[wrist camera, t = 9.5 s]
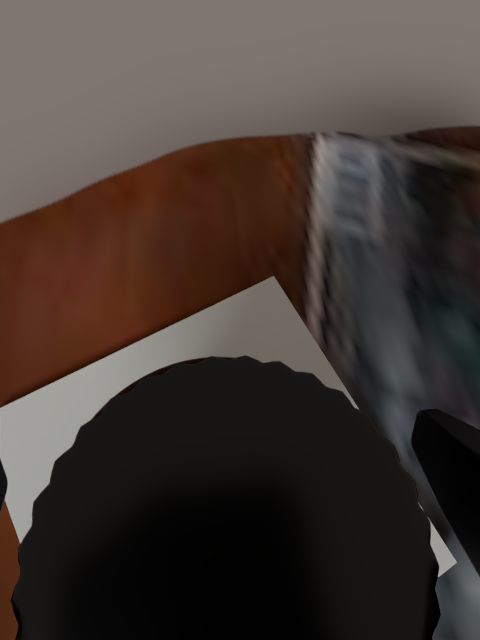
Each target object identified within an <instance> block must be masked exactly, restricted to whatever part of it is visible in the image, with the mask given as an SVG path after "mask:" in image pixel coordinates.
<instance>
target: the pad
mask: <svg viewBox="0 0 480 640" xmlns="http://www.w3.org/2000/svg"><path fill="white" fill-rule="evenodd" d="M245 355H247V356H249V357H252V358H254V359H256V360H258V361H260V362H262V363H266V362H271V361H281V362H282V363H284V364H285V365H287V366H288V367H290V368H291V369H292V370H294V371H297V372H308V373H313V374H314V375H315V376H316V377H317V378H318V379H319V380H320V381H321V382H322V383H323V384H324V385H325V386H326V387H329V388H333V389H337V390H340V391H342V392H344V394H345V395H346V396H347V398H348V399H349V400H350V402H351V403H352V405H353V406H354V408H357V409H359V408H358V407H357V405H356V404H355V402H354V401H353V399H352V398H351V396H350V394H349V393H348V391H347V390H346V388H345V387H344V385H343V383H342V382H341V380H340V379H339V377H338V376H337V374H336V372H335V371H334V369H333V368H332V366H331V365H330V363H329V362H328V360H327V358H326V357H325V355H324V354H323V352H322V351H321V349H320V347H319V346H318V344H317V343H316V341H315V340H314V338H313V336H312V335H311V333H310V332H309V330H308V329H307V327H306V325H305V324H304V322H303V321H302V319H301V318H300V316H299V315H298V313H297V311H296V310H295V308H294V307H293V305H292V304H291V302H290V300H289V299H288V297H287V296H286V294H285V293H284V291H283V289H282V288H281V286H280V285H279V283H278V282H277V280H276V279H275V277H274V276H273V277H270V278H268V279H266V280H264V281H262V282H260V283H258V284H256V285H254V286H252V287H250V288H248V289H246V290H244V291H242V292H239V293H237V294H235V295H233V296H231V297H229V298H227V299H225V300H223V301H221V302H219V303H217V304H215V305H213V306H210V307H208V308H206V309H204V310H202V311H200V312H198V313H196V314H194V315H192V316H190V317H188V318H186V319H184V320H181V321H179V322H177V323H175V324H173V325H171V326H169V327H167V328H165V329H163V330H161V331H159V332H157V333H155V334H152V335H150V336H148V337H146V338H144V339H142V340H140V341H138V342H136V343H134V344H132V345H130V346H128V347H126V348H123V349H121V350H119V351H117V352H115V353H113V354H111V355H109V356H107V357H105V358H103V359H101V360H99V361H97V362H94V363H92V364H90V365H88V366H86V367H84V368H82V369H80V370H78V371H76V372H74V373H72V374H70V375H68V376H66V377H63V378H61V379H59V380H57V381H55V382H53V383H51V384H49V385H47V386H45V387H43V388H41V389H39V390H37V391H34V392H32V393H30V394H28V395H26V396H24V397H22V398H20V399H18V400H16V401H14V402H12V403H10V404H8V405H5V406H3V407H1V408H0V459H1V462H2V465H3V467H4V470H5V473H6V476H7V481H8V487H7V492H6V496H5V501H6V504H7V507H8V510H9V513H10V516H11V518H12V521H13V524H14V527H15V530H16V533H17V535H18V538H19V541H20V544H21V542H22V540H23V538H24V537H25V535H26V534H27V532H28V531H29V529H30V528H31V525H32V508H33V502H34V501H35V499H36V498H37V497H38V495H39V494H40V493H41V492H42V491H43V490H44V489H45V487H46V486H47V485H48V484H49V482H50V477H51V472H52V469H53V465H54V462H55V460H56V459H58V458H59V457H60V456H61V455H62V454H63V453H64V452H66V451H67V450H68V449H69V448H71V446H72V444H73V443H74V441H75V438H76V435H77V433H78V431H79V429H80V427H81V426H82V425H84V424H85V423H87V422H88V421H90V420H91V419H92V417H93V416H94V415H95V414H96V413H97V412H98V411H99V410H100V409H101V408H102V407H103V406H104V405H105V404H106V403H107V402H108V401H109V400H110V398H113V397H114V396H115V395H116V394H117V393H119V392H120V391H121V390H123V389H124V388H126V387H127V386H128V385H130V384H131V383H133V382H135V381H136V380H138V379H140V378H141V377H143V376H145V375H147V374H149V373H151V372H153V371H155V370H158V369H160V368H163V367H165V366H168V365H171V364H174V363H178V362H182V361H185V360H190V359H196V358H203V357H210V356H215V357H236V358H237V357H240V356H245ZM418 503H419V502H418ZM419 505H420V504H419ZM420 507H421V506H420ZM421 508H422V507H421ZM423 511H424V510H423ZM430 522H431V521H430ZM430 545H431V547H432V549H433V551H434V554H435V556H436V559H437V561H438V564H439V573H438V577H439V576H441V575H442V574H443V573H444V572H446V571H447V570H448V569H449V568H451V567H452V566H453V565H454V564H456V563H457V562H456V560H455V559H454V557H453V556H452V554H451V553H450V551H449V549H448V548H447V546H446V545H445V543H444V542H443V540H442V538H441V537H440V535H439V534H438V532H437V531H436V529H435V528H434V526H433V524H432V523H431V542H430Z"/></svg>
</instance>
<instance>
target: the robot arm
mask: <svg viewBox="0 0 480 640" xmlns="http://www.w3.org/2000/svg"><path fill="white" fill-rule="evenodd" d="M411 445H412V448H413V451H414V453H415V455H416V457H417V460H418V462H419V464H420V466H421V468H422V470H423V473H424V475H425V477H426V479H427V481H428V483H429V486H430V488H431V490H432V492H433V494H434V496H435V499H436V501H437V503H438V505H439V507H440V509H441V511H442V513H443V514H444V516H445V518H446V520H447V522H448V523H449V525H450V527H451V529H452V530H453V532H454V534H455V535H456V537H457V539H458V541H459V542H460V544H461V546H462V547H463V549H464V551H465V553H466V554H467V556H468V558H469V559H470V561H471V563H472V565H473V566H474V568H475V570H476V571H477V573H478V575H479V576H480V430H479V429H477V428H475V427H473V426H471V425H469V424H467V423H465V422H463V421H461V420H459V419H457V418H455V417H453V416H451V415H449V414H447V413H445V412H443V411H441V410H438V409H427V410H420V411H419V412H418V413H417V415H416V419H415V423H414V428H413V432H412V436H411ZM7 487H8V481H7V476H6V473H5V470H4V467H3V465H2V462H1V459H0V513H1V509H2V506H3V502H4V499H5V496H6V492H7Z"/></svg>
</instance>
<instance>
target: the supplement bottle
mask: <svg viewBox="0 0 480 640" xmlns="http://www.w3.org/2000/svg"><path fill="white" fill-rule="evenodd" d="M430 542H431V522H430V520H429V518H428V517H427V515H426V513H425V512H424V511H423V509H422V508H421V507H420V505H419V503H418V494H417V488H416V483H415V481H414V480H413V478H412V477H411V476H410V475H409V474H408V473H407V472H406V471H405V470H404V469H403V468H402V466H401V464H400V460H399V456H398V453H397V451H396V448H395V446H394V445H393V444H392V443H391V442H389V441H388V440H387V439H385V438H383V437H382V436H381V435H380V434H379V432H378V430H377V427H376V425H375V423H374V421H373V419H372V418H371V416H370V415H368V414H366V413H364V412H363V411H361V410H359V409H357V408H354V406H353V405H352V403H351V402H350V400H349V399H348V398H347V396H346V395H345V394H344V392H342V391H340V390H337V389H333V388H329V387H326V386H325V385H324V384H323V383H322V382H321V381H320V380H319V379H318V378H317V377H316V376H315V375H314V374H313V373H308V372H297V371H294V370H292V369H291V368H290V367H288V366H287V365H285V364H284V363H282V362H281V361H271V362H266V363H262V362H260V361H258V360H256V359H254V358H252V357H249V356H247V355H245V356H240V357H237V358H236V357H215V356H210V357H203V358H196V359H190V360H185V361H182V362H178V363H174V364H171V365H168V366H165V367H163V368H160V369H158V370H155V371H153V372H151V373H149V374H147V375H145V376H143V377H141V378H140V379H138V380H136V381H135V382H133V383H131V384H130V385H128V386H127V387H126V388H124V389H123V390H121V391H120V392H119V393H117V394H116V395H115V396H114V397H113V398H110V400H109V401H108V402H107V403H106V404H105V405H104V406H103V407H102V408H101V409H100V410H99V411H98V412H97V413H96V414H95V415H94V416H93V417H92V419H91V420H90V421H88V422H87V423H85V424H84V425H82V426H81V427H80V429H79V431H78V433H77V435H76V438H75V441H74V443H73V444H72V446H71V448H69V449H68V450H67V451H66V452H64V453H63V454H62V455H61V456H60V457H59V458H58V459H56V460H55V462H54V465H53V469H52V472H51V477H50V482H49V484H48V485H47V486H46V487H45V489H44V490H43V491H42V492H41V493H40V494H39V495H38V497H37V498H36V499H35V501H34V502H33V508H32V525H31V528H30V529H29V531H28V532H27V534H26V535H25V537H24V538H23V540H22V542H21V544H20V546H19V548H18V561H19V565H20V577H19V580H18V582H17V584H16V586H15V588H14V591H13V595H12V598H11V602H12V606H13V610H14V614H15V616H16V619H17V622H18V624H19V626H18V632H17V636H16V639H15V640H432V636H433V633H434V630H435V628H436V626H437V624H438V621H439V618H440V615H441V614H440V609H439V603H438V599H437V595H436V592H435V586H436V581H437V579H438V573H439V564H438V561H437V559H436V556H435V554H434V551H433V549H432V547H431V545H430Z"/></svg>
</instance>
